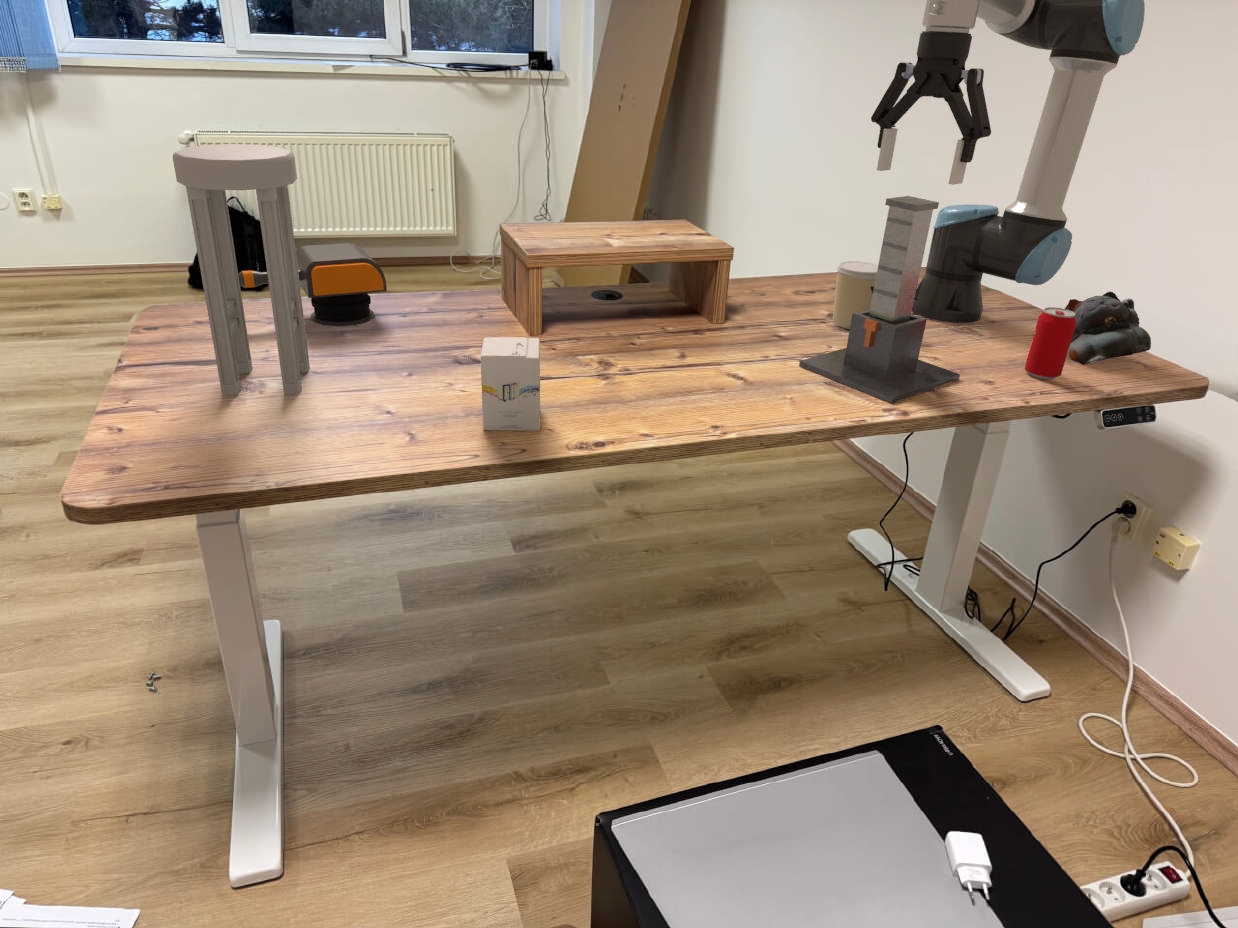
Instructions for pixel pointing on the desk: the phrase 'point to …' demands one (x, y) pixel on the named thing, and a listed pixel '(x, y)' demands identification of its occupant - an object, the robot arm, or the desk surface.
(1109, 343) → the lucky cat figurine
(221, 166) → the stool
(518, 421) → the ink box
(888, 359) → the stand base
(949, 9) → the robot arm
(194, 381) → the desk surface
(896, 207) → the column
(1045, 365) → the beverage can
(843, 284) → the coffee cup
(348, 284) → the sander
